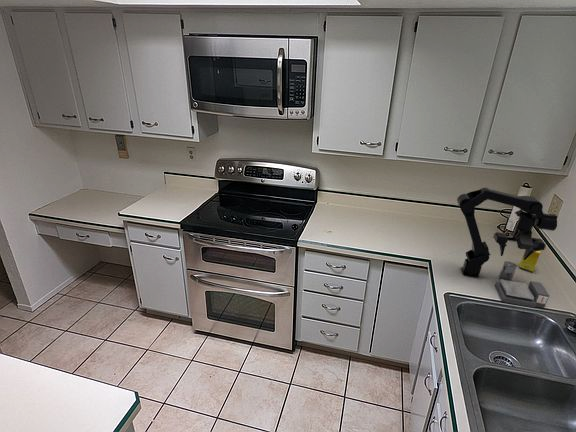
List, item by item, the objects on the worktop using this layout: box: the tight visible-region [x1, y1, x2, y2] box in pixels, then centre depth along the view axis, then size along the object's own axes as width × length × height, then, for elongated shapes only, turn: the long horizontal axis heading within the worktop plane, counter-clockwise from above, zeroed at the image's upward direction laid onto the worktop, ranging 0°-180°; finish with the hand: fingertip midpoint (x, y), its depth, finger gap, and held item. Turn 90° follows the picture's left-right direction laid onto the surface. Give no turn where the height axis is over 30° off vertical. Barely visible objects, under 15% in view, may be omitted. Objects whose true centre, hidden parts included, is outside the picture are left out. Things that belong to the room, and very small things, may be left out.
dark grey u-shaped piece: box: [494, 280, 550, 309], centre depth 148 cm, size 16×12×6 cm
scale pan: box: [499, 279, 534, 300], centre depth 148 cm, size 10×10×1 cm
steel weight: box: [498, 260, 518, 281], centre depth 159 cm, size 5×5×8 cm
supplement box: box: [518, 249, 542, 273], centre depth 168 cm, size 6×6×11 cm
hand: (512, 257), depth 156 cm, fingers open, 9 cm apart
